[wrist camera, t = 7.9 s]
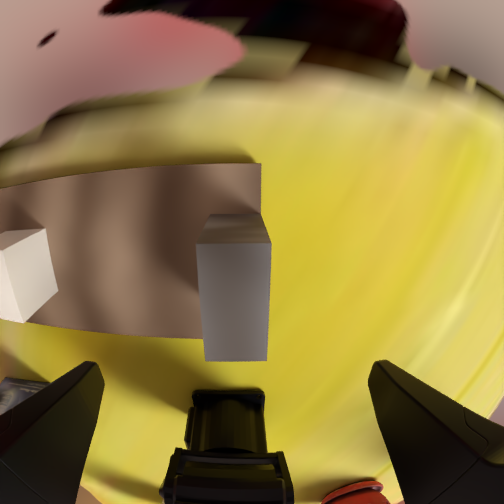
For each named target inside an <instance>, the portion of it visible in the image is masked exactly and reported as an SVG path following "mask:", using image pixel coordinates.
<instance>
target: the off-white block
mask: <svg viewBox="0 0 504 504" xmlns="http://www.w3.org/2000/svg"><path fill="white" fill-rule="evenodd" d="M57 292H58V287H57V283H56V279H55V275H54V271H53V266H52V261H51V257H50V251H49V246H48V240H47V234H46V228H43V229H29V230H15V231H5V232H3V233H1V234H0V319H5V320H10V321H14V322H19V323H25V322H26V321H27V320H28V319H29V318H30V317H31V316H32V315H33V314H34V313H35V312H36V311H37V310H38V309H39V308H40V307H41V306H42V305H43V304H45V303H46V302H47V301H48V300H49V299H50V298H51V297H52V296H53V295H54V294H55V293H57Z"/></svg>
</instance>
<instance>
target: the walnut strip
mask: <svg viewBox="0 0 504 504" xmlns="http://www.w3.org/2000/svg"><path fill="white" fill-rule="evenodd" d="M43 228H46V234H47V240H48V246H49V251H50V257H51V261H52V266H53V271H54V275H55V279H56V283H57V287H58V292H57V293H55V294H54V295H53V296H52V297H51V298H50V299H49V300H48V301H47V302H46V303H45V304H43V305H42V306H41V307H40V308H39V309H38V310H37V311H36V312H35V313H34V314H33V315H32V316H31V317H30V318H29V319H28V320H27V321H26V322H30V323H36V324H42V325H48V326H54V327H61V328H68V329H76V330H83V331H92V332H101V333H111V334H122V335H134V336H148V337H165V338H190V339H203V342H204V352H205V361H267V345H268V323H269V300H270V273H271V241H270V238H269V235H268V232H267V230H266V227H265V224H264V222H263V219H262V216H261V164H260V163H219V164H187V165H168V166H153V167H140V168H129V169H119V170H109V171H101V172H93V173H85V174H78V175H71V176H64V177H58V178H52V179H46V180H41V181H35V182H30V183H25V184H20V185H15V186H11V187H6V188H2V189H0V234H1V233H3V232H5V231H15V230H29V229H43Z"/></svg>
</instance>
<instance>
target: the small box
mask: <svg viewBox="0 0 504 504" xmlns="http://www.w3.org/2000/svg"><path fill="white" fill-rule="evenodd" d="M49 384H50V383H44V382H35V381H27V380H20V379H13V378H8V377H5V379H4V380H3V381H2V382H1V384H0V415H1V414H3V413H4V412H6V411H8V410H9V409H11V408H13V407H14V406H16V405H17V404H19V403H20V402H22V401H23V400H25V399H27V398H28V397H30V396H31V395H33V394H34V393H36V392H38V391H39V390H41V389H42V388H44V387H45V386H47V385H49Z"/></svg>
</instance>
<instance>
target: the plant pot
mask: <svg viewBox="0 0 504 504" xmlns="http://www.w3.org/2000/svg"><path fill="white" fill-rule="evenodd" d="M382 490H383V485H382V484H381V483H379V482H377V481H364V482H359V483H354V484H351V485H348V486H345V487H343V488H340V489H338V490H336V491H334V492H332V493H330V494H329V495H327V496H326V497H325V498H324V499H323V501H322V503H321V504H390V503H389V501H388V500H387V499H386V497H385V496H384V495H382V494H381V493H380V492H381V491H382Z"/></svg>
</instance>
